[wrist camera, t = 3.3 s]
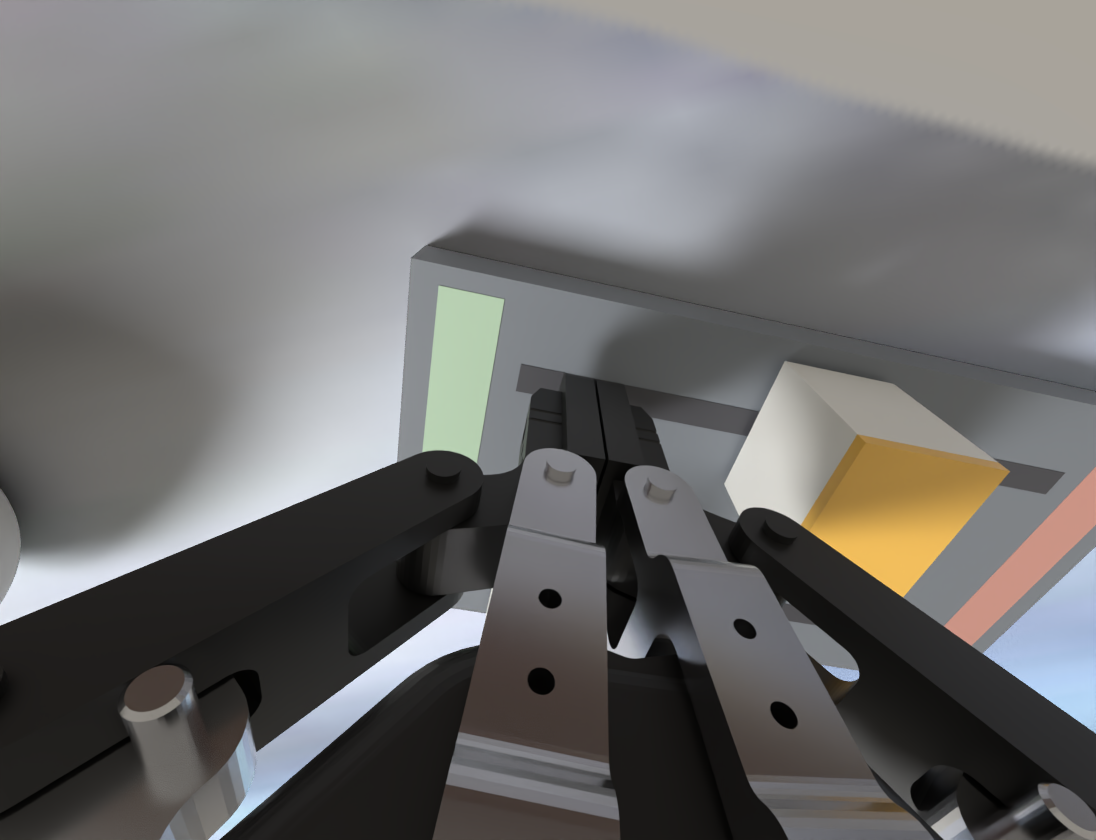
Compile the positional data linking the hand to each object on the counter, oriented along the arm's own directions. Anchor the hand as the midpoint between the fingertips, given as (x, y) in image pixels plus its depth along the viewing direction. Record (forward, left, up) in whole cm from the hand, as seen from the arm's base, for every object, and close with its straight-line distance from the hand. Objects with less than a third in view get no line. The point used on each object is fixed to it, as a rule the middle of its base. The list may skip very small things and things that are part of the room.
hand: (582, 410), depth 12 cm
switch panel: (-7, -3, -2) cm, 8 cm away
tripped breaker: (-4, -5, -1) cm, 6 cm away
